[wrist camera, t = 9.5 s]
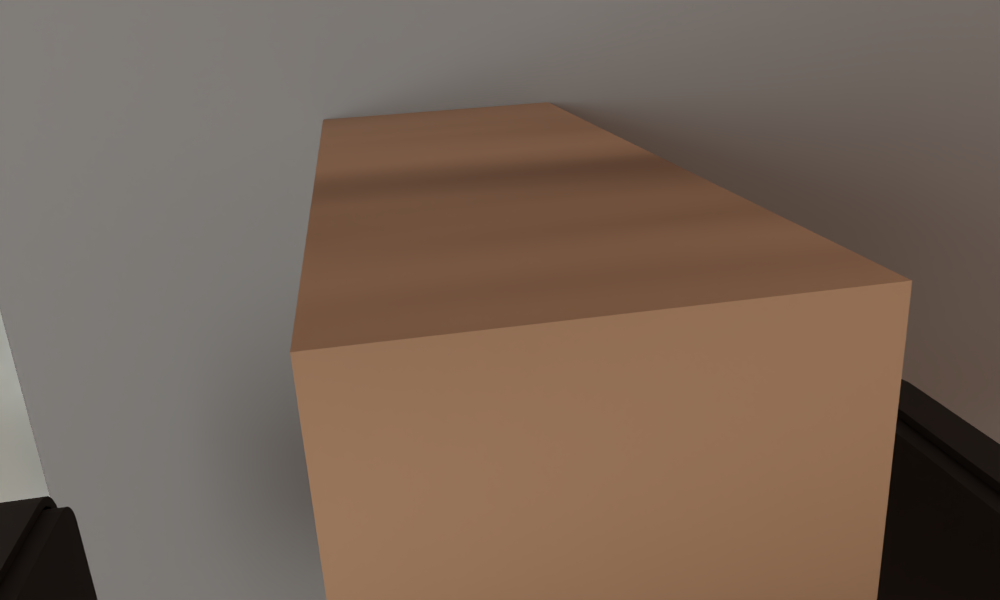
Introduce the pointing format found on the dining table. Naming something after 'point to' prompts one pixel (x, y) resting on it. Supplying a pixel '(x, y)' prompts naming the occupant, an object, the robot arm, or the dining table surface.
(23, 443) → the dining table surface
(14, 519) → the robot arm
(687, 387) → the slab
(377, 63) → the mat
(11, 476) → the dining table surface
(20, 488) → the dining table surface
